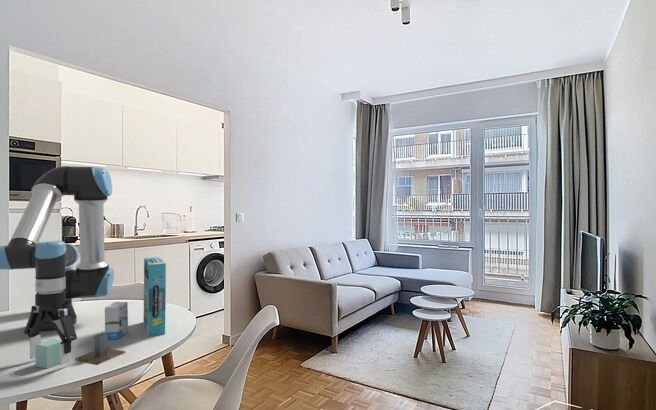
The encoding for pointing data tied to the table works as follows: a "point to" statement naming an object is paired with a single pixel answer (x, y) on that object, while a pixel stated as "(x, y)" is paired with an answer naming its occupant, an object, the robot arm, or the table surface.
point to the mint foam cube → (48, 353)
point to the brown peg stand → (100, 351)
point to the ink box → (116, 319)
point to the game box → (154, 295)
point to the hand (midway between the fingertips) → (49, 360)
